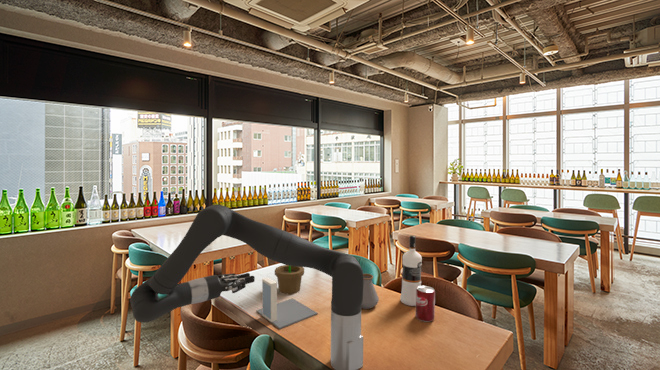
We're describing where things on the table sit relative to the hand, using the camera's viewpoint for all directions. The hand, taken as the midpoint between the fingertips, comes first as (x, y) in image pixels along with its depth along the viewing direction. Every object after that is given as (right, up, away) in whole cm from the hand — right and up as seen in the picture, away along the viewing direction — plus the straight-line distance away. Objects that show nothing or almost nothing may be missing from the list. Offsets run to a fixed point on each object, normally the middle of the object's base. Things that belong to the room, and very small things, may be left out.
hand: (251, 277), depth 113 cm
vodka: (+65, -19, +26) cm, 72 cm away
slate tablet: (+5, -19, +10) cm, 22 cm away
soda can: (+67, -20, +12) cm, 70 cm away
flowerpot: (+9, -18, +38) cm, 43 cm away
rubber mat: (+11, -19, +15) cm, 27 cm away
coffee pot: (+40, -19, +26) cm, 51 cm away
